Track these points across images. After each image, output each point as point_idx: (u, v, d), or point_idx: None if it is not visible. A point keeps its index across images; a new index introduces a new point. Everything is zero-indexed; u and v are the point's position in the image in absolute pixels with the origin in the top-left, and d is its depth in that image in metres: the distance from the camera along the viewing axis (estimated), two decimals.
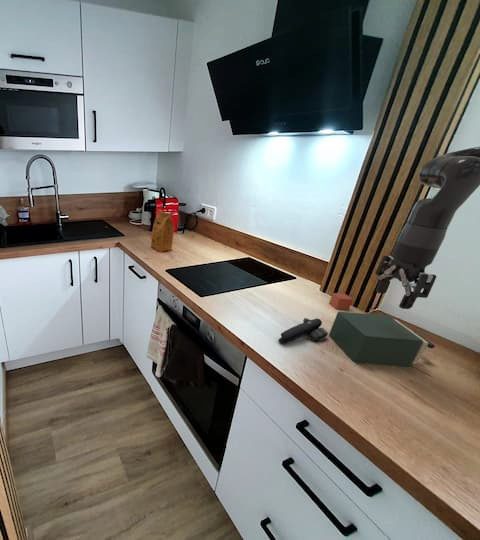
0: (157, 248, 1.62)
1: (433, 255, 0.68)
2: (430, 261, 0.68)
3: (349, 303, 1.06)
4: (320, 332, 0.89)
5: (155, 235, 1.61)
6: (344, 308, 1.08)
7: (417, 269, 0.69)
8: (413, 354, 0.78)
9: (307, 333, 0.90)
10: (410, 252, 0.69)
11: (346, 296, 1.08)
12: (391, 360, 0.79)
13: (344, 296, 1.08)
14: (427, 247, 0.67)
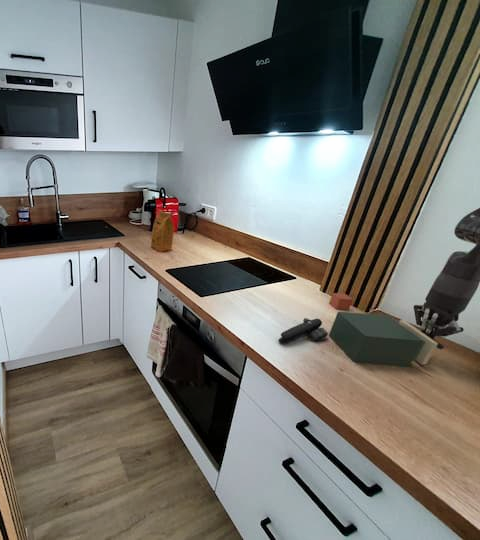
0: (157, 248, 1.62)
1: (467, 303, 0.74)
2: (464, 308, 0.74)
3: (349, 303, 1.06)
4: (320, 332, 0.89)
5: (155, 235, 1.61)
6: (344, 308, 1.08)
7: (452, 315, 0.75)
8: (413, 354, 0.78)
9: (307, 333, 0.90)
10: (445, 300, 0.75)
11: (346, 296, 1.08)
12: (391, 360, 0.79)
13: (344, 296, 1.08)
14: (462, 296, 0.73)
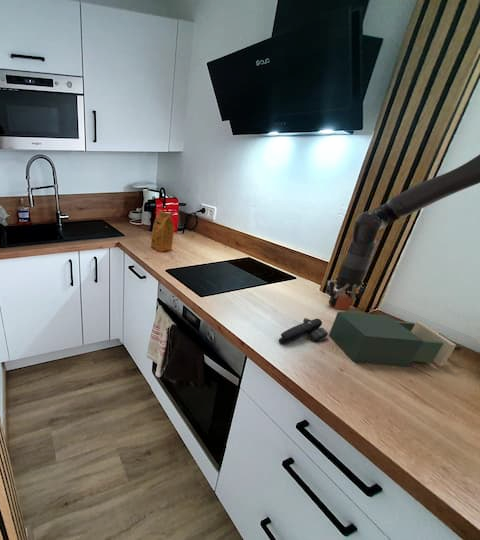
0: (157, 248, 1.62)
1: (345, 271, 1.03)
2: (343, 275, 1.03)
3: (349, 303, 1.07)
4: (320, 332, 0.89)
5: (155, 235, 1.61)
6: (344, 308, 1.08)
7: (337, 277, 1.06)
8: (413, 354, 0.78)
9: (307, 333, 0.90)
10: None
11: (346, 296, 1.08)
12: (391, 360, 0.79)
13: (344, 296, 1.08)
14: (342, 263, 1.04)
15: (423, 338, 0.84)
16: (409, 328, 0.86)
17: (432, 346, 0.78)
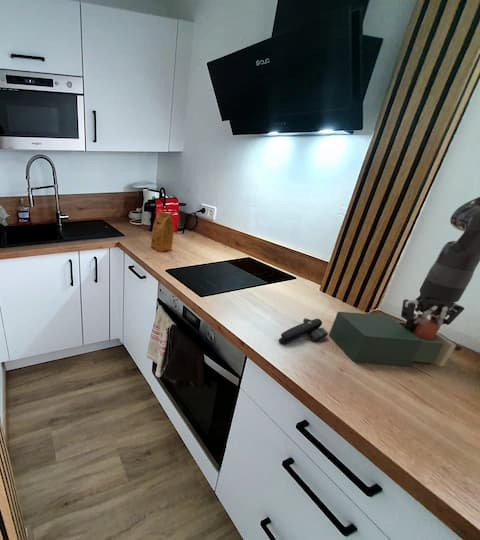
0: (157, 248, 1.62)
1: (433, 289, 0.75)
2: (431, 294, 0.76)
3: (435, 331, 0.79)
4: (320, 332, 0.89)
5: (155, 235, 1.61)
6: (427, 338, 0.80)
7: None
8: (413, 354, 0.78)
9: (307, 333, 0.90)
10: None
11: (429, 321, 0.80)
12: (391, 360, 0.79)
13: (426, 321, 0.80)
14: (428, 278, 0.76)
15: None
16: None
17: (432, 346, 0.78)
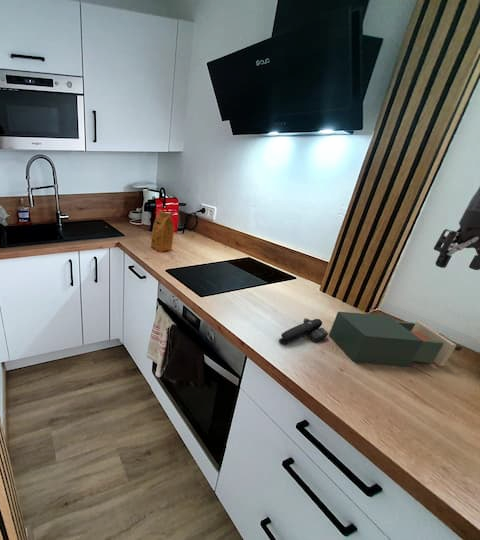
0: (157, 248, 1.62)
1: (476, 218, 0.72)
2: (472, 224, 0.73)
3: None
4: (320, 332, 0.89)
5: (155, 235, 1.61)
6: None
7: (458, 229, 0.76)
8: (413, 354, 0.78)
9: (307, 333, 0.90)
10: (463, 214, 0.76)
11: (420, 336, 0.82)
12: (391, 360, 0.79)
13: (418, 336, 0.82)
14: (469, 208, 0.74)
15: None
16: (409, 328, 0.86)
17: (432, 346, 0.78)
